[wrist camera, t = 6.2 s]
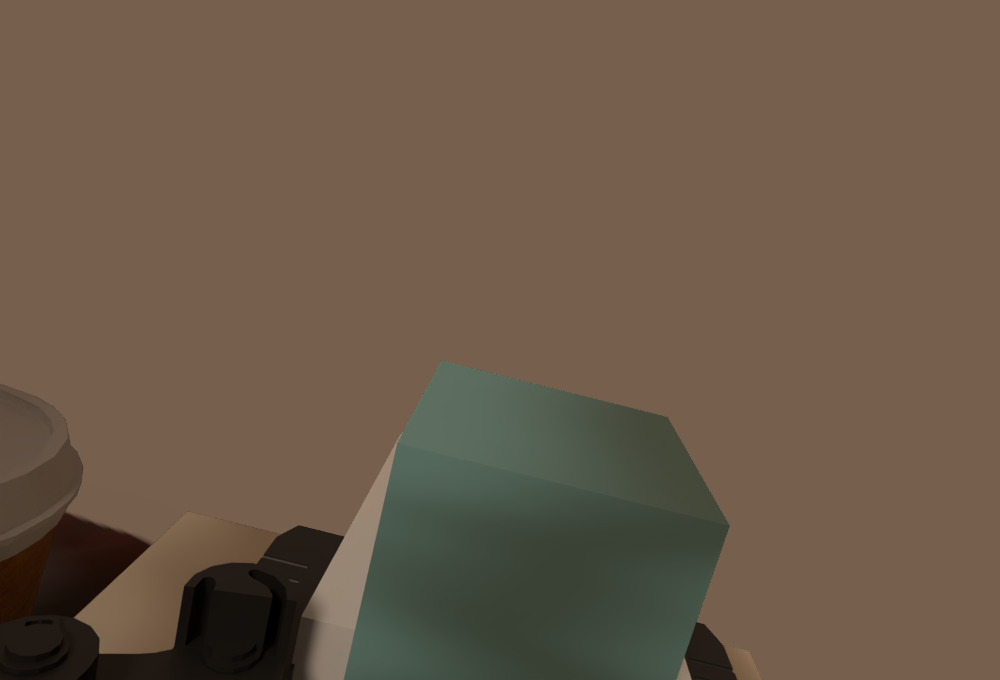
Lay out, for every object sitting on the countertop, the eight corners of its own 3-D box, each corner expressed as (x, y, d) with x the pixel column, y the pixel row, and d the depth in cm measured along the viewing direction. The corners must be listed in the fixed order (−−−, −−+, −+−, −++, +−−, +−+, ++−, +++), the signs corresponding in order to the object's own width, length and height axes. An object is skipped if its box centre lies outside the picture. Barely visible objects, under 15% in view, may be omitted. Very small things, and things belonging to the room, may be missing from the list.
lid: (-398, 1106, 9) (-441, 265, 6) (184, 532, 23) (236, 210, 21) (1079, 1471, 9) (1567, 767, 7) (741, 671, 24) (853, 366, 21)
